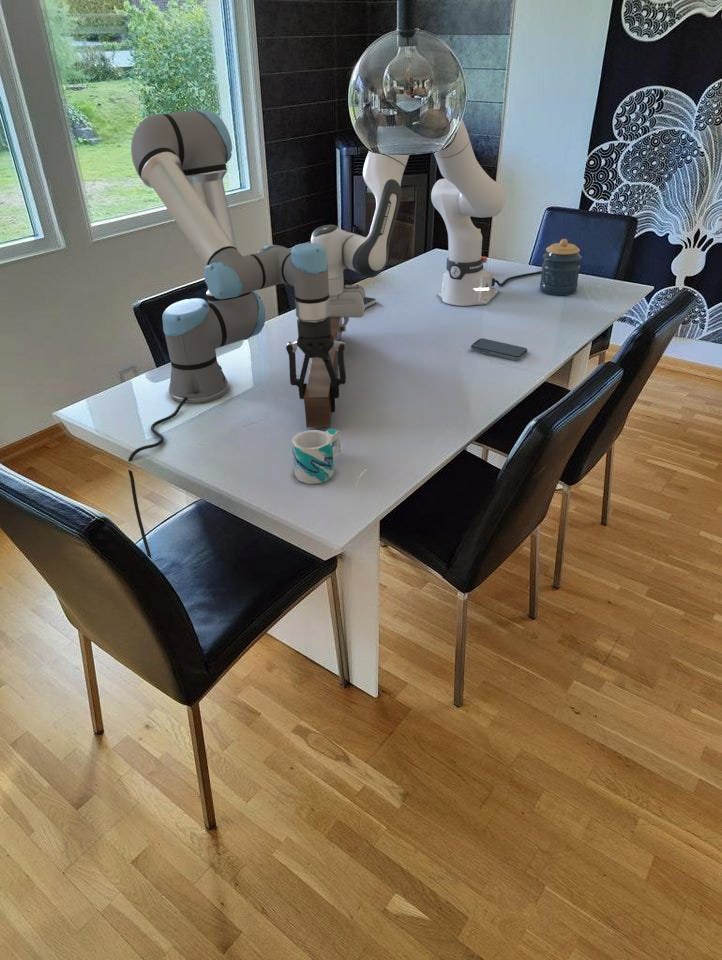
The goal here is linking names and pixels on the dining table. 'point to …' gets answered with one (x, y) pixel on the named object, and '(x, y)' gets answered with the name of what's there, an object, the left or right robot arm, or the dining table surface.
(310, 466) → the mug
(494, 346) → the smartphone
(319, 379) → the beam
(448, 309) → the dining table surface
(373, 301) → the smartphone
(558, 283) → the canister
